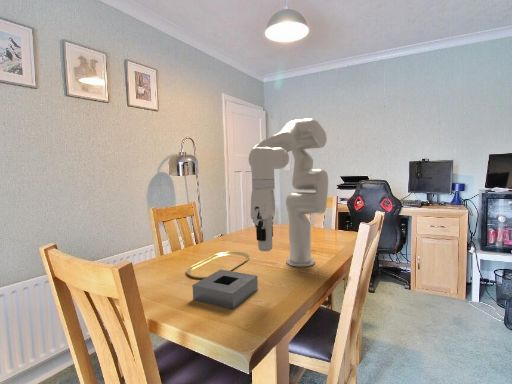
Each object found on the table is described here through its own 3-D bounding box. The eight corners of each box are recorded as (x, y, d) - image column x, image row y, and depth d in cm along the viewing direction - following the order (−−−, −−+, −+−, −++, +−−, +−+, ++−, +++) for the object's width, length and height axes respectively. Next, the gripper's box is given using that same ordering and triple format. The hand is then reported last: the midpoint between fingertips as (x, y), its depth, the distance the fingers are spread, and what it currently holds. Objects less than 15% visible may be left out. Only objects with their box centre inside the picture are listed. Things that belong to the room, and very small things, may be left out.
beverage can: (271, 247, 100) (270, 213, 99) (273, 251, 95) (272, 215, 94) (257, 248, 100) (256, 213, 99) (258, 252, 95) (257, 216, 94)
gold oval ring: (177, 276, 119) (177, 273, 119) (224, 253, 150) (224, 250, 150) (214, 283, 110) (214, 279, 110) (256, 256, 141) (256, 253, 141)
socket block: (221, 282, 110) (220, 269, 110) (257, 289, 103) (257, 275, 102) (193, 299, 96) (192, 285, 96) (233, 309, 89) (232, 293, 88)
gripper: (264, 183, 105) (265, 232, 107) (240, 186, 90) (242, 243, 92) (283, 183, 102) (284, 233, 103) (262, 186, 87) (264, 246, 88)
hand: (264, 238), depth 97 cm, fingers closed on beverage can, 4 cm apart
